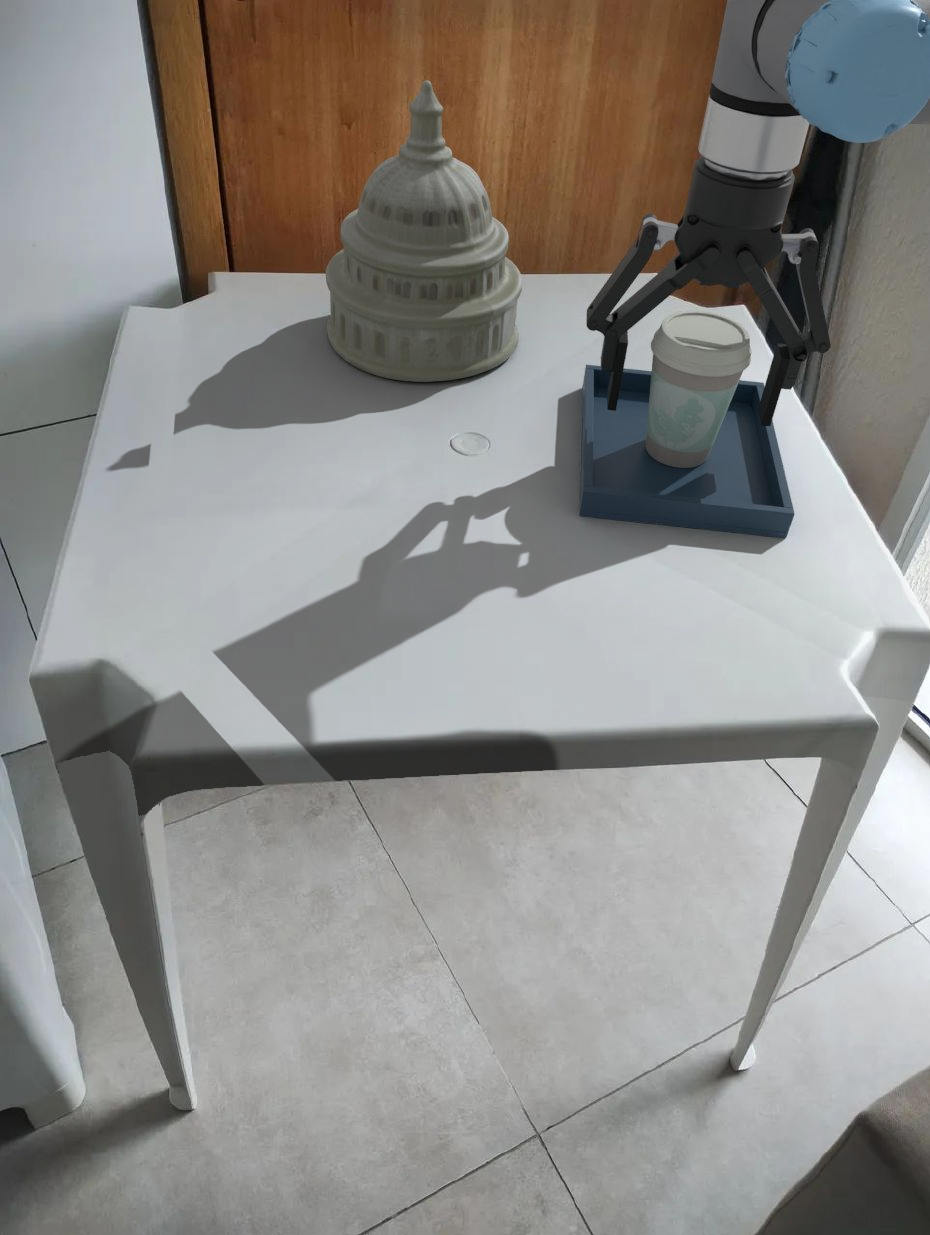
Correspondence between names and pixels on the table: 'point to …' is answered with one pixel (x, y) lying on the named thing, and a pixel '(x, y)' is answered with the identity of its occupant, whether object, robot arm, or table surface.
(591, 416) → the tray
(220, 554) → the table surface
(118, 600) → the table surface
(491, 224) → the dome
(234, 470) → the table surface
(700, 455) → the coffee cup
